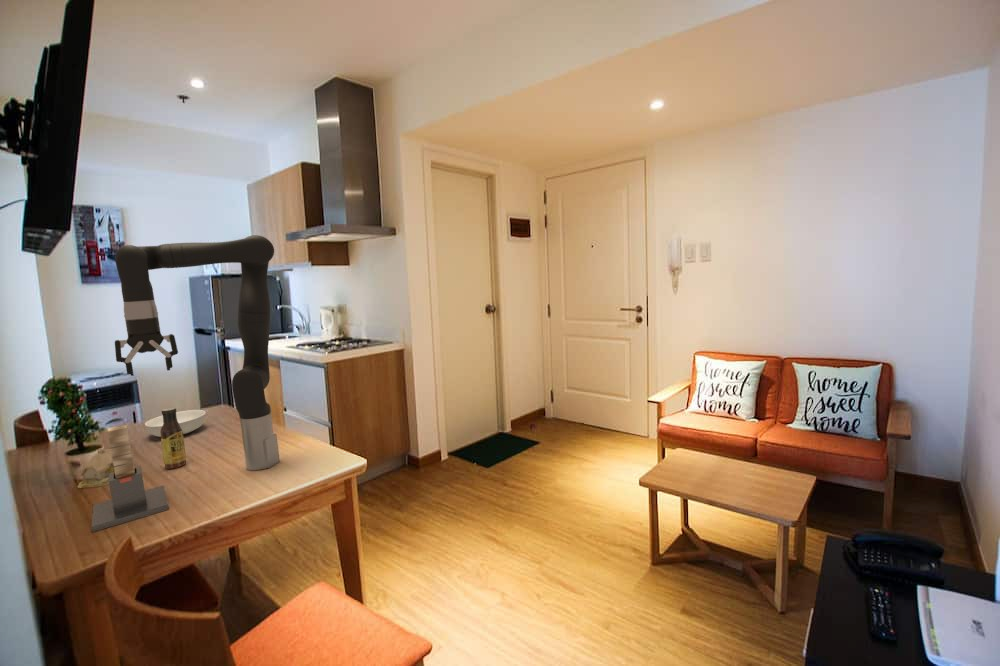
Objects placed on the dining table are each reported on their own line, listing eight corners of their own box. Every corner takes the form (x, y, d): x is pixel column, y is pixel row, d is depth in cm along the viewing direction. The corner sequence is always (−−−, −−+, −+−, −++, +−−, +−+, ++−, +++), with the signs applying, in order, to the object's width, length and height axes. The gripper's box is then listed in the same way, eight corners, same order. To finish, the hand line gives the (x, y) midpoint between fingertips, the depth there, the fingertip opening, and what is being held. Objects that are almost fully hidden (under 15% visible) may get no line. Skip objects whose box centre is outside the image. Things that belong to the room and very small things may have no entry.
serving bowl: (166, 427, 205) (163, 412, 204) (217, 423, 207) (214, 407, 206) (135, 444, 184) (132, 427, 183) (191, 439, 186) (189, 423, 185)
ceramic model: (101, 489, 145) (95, 458, 144) (69, 489, 146) (63, 458, 145) (141, 469, 159) (136, 441, 157) (111, 469, 160) (106, 441, 159)
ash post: (136, 478, 132) (126, 424, 130) (136, 483, 129) (127, 427, 127) (117, 483, 130) (107, 428, 127) (117, 488, 126) (107, 431, 124)
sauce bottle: (175, 470, 156) (166, 412, 153) (160, 469, 157) (150, 412, 155) (192, 462, 163) (183, 406, 160) (177, 461, 164) (168, 406, 161)
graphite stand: (164, 490, 141) (158, 456, 140) (168, 509, 129) (163, 473, 128) (94, 509, 131) (88, 473, 130) (92, 532, 119) (85, 493, 118)
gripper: (170, 313, 141) (178, 366, 143) (109, 319, 132) (119, 375, 134) (173, 314, 135) (181, 370, 137) (109, 320, 126) (119, 379, 129)
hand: (150, 372), depth 136 cm, fingers open, 8 cm apart
